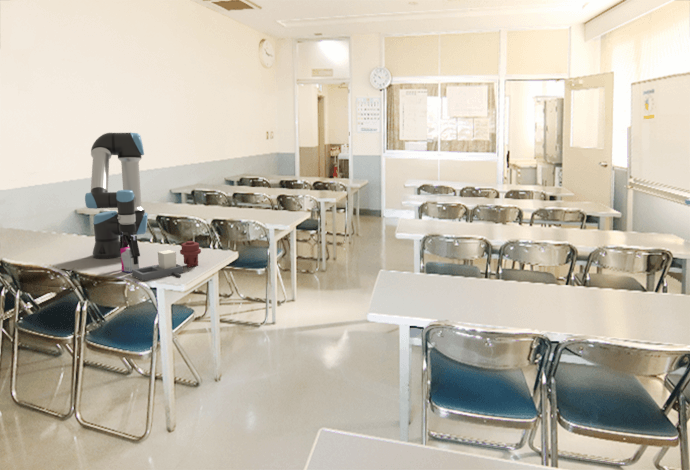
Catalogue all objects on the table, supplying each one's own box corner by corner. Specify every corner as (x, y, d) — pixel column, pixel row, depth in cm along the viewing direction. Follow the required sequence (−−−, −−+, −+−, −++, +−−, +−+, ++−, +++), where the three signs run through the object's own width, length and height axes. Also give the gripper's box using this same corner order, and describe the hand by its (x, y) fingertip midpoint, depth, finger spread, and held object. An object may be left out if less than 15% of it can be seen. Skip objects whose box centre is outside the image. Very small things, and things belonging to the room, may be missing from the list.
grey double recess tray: (132, 275, 247) (130, 255, 245) (172, 267, 261) (171, 248, 259) (149, 284, 235) (147, 262, 233) (190, 275, 249) (189, 254, 247)
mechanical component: (205, 263, 269) (195, 269, 260) (186, 262, 271) (177, 267, 262) (203, 240, 267) (194, 244, 257) (185, 239, 269) (175, 243, 259)
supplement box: (139, 270, 257) (138, 247, 254) (130, 273, 251) (128, 249, 249) (131, 268, 259) (129, 245, 256) (121, 271, 254) (119, 248, 251)
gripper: (109, 220, 255) (112, 264, 260) (129, 227, 240) (133, 274, 244) (124, 218, 261) (128, 262, 265) (145, 225, 245) (148, 271, 249)
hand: (130, 268), depth 255 cm, fingers open, 10 cm apart
